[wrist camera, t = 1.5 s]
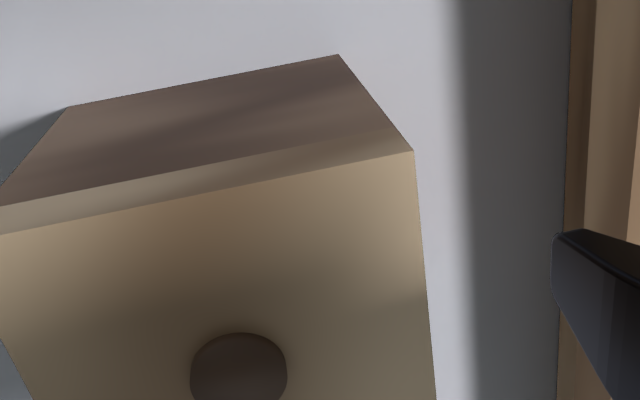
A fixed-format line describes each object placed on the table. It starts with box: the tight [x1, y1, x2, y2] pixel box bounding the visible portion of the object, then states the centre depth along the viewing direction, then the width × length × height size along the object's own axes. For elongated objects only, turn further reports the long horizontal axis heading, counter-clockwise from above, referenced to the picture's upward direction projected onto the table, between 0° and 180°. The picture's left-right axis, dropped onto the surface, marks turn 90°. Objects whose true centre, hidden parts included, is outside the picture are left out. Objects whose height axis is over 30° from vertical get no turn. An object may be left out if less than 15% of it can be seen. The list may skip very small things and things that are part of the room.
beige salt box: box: [0, 54, 437, 400], centre depth 9 cm, size 5×5×5 cm
